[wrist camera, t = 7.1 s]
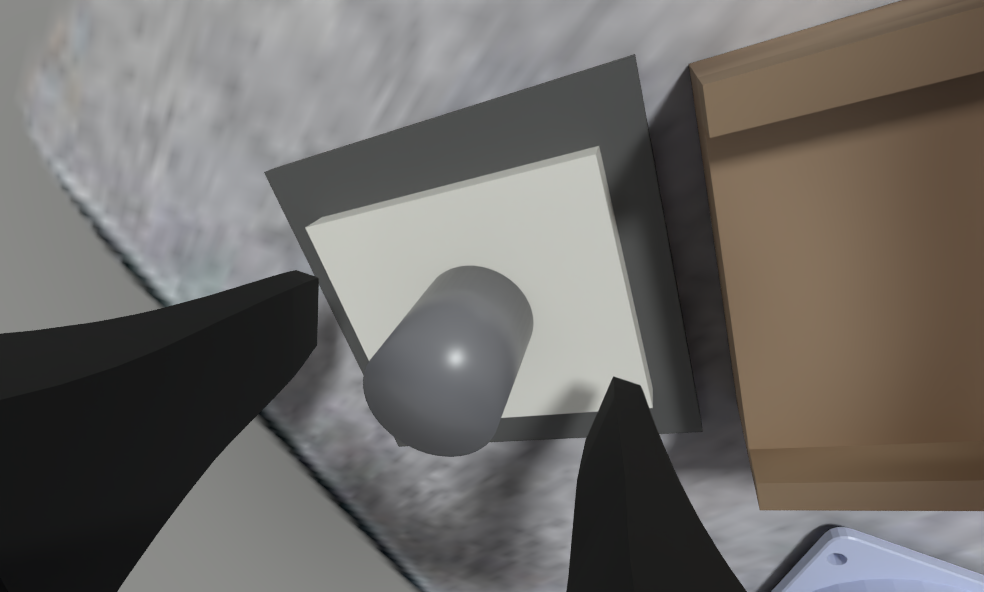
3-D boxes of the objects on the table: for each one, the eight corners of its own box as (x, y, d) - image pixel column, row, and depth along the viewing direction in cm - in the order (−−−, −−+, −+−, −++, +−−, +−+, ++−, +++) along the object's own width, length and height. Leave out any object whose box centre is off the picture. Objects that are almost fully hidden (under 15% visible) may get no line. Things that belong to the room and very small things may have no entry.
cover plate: (599, 145, 12) (574, 209, 8) (652, 388, 14) (653, 519, 11) (321, 217, 14) (210, 287, 11) (409, 408, 17) (343, 516, 13)
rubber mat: (635, 54, 11) (634, 55, 10) (701, 422, 15) (702, 431, 14) (273, 168, 15) (264, 172, 14) (403, 438, 18) (398, 446, 18)
